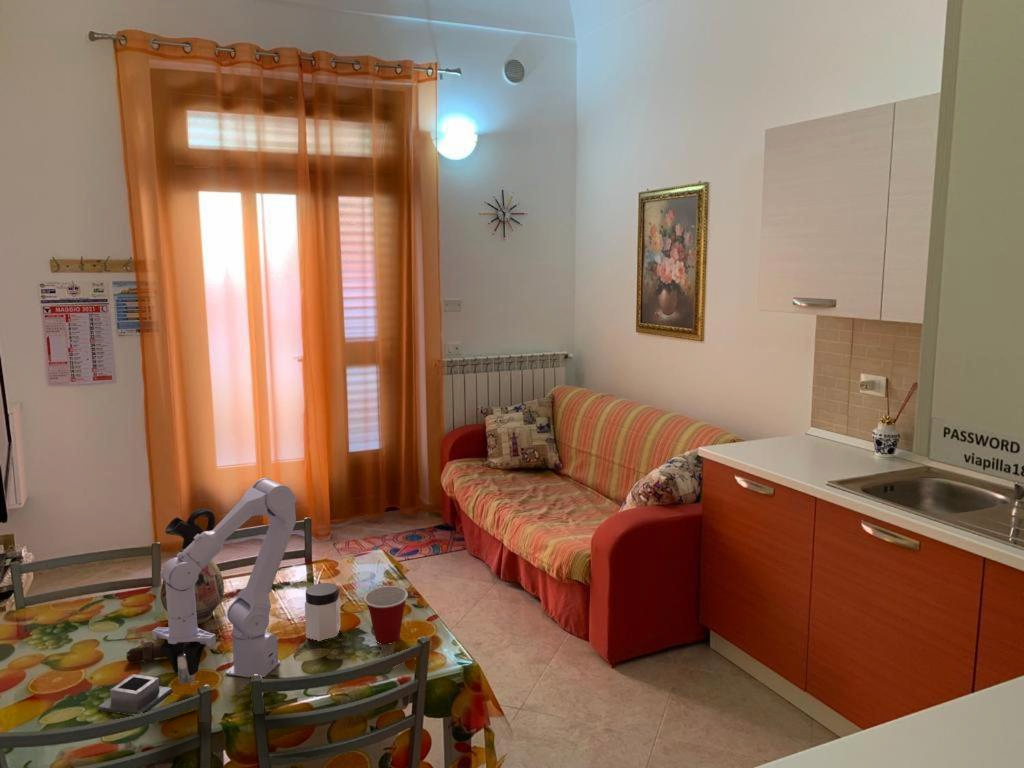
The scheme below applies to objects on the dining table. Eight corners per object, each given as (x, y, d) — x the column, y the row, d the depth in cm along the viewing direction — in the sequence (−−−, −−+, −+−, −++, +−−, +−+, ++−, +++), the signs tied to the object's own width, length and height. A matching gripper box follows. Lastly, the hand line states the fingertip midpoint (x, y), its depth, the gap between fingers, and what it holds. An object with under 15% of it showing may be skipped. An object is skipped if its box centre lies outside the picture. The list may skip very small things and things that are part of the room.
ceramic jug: (173, 638, 190) (166, 523, 186) (155, 617, 201) (148, 509, 197) (240, 618, 201) (235, 509, 197) (219, 600, 212) (213, 497, 208)
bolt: (130, 669, 178) (198, 658, 182) (125, 668, 174) (195, 657, 178) (130, 643, 180) (197, 633, 184) (125, 642, 176) (194, 631, 180)
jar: (336, 641, 188) (334, 596, 186) (303, 642, 187) (301, 596, 186) (343, 625, 197) (341, 581, 195) (311, 626, 196) (310, 582, 195)
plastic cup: (356, 645, 186) (355, 599, 184) (378, 627, 196) (377, 583, 194) (395, 653, 182) (394, 606, 180) (416, 634, 192) (415, 589, 190)
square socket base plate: (171, 691, 165) (170, 675, 164) (138, 716, 155) (137, 699, 155) (133, 685, 167) (132, 669, 167) (98, 709, 158) (97, 692, 157)
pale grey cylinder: (197, 676, 166) (195, 651, 165) (188, 684, 163) (186, 658, 162) (185, 674, 167) (183, 649, 166) (175, 682, 164) (173, 656, 163)
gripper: (140, 617, 161) (145, 677, 163) (199, 625, 157) (203, 685, 159) (163, 603, 167) (167, 661, 169) (220, 610, 164) (223, 669, 166)
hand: (186, 672), depth 165 cm, fingers closed on pale grey cylinder, 3 cm apart
